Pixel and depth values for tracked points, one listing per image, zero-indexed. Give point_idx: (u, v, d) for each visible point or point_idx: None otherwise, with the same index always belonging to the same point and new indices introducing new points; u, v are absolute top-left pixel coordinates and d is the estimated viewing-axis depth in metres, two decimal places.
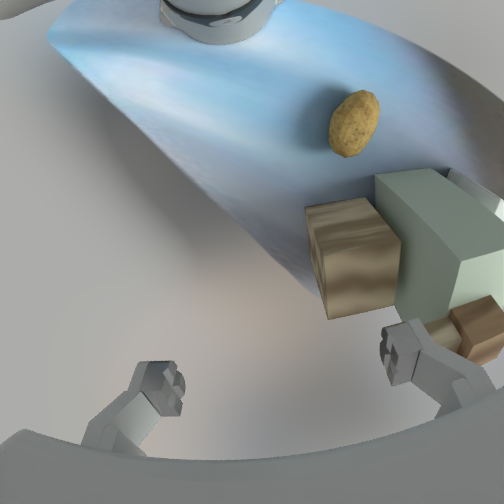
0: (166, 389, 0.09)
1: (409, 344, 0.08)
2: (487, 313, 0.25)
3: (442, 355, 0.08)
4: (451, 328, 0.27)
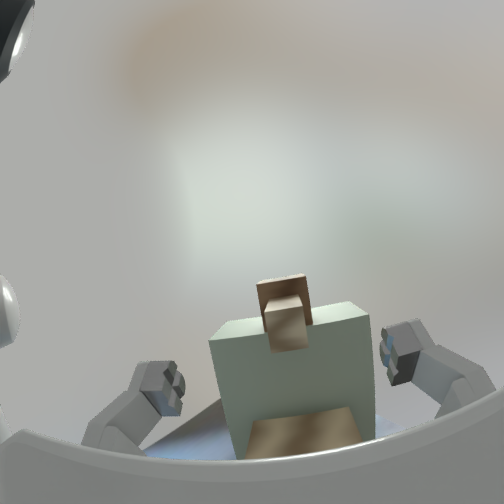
0: (166, 389, 0.09)
1: (409, 344, 0.08)
2: None
3: (441, 355, 0.08)
4: None
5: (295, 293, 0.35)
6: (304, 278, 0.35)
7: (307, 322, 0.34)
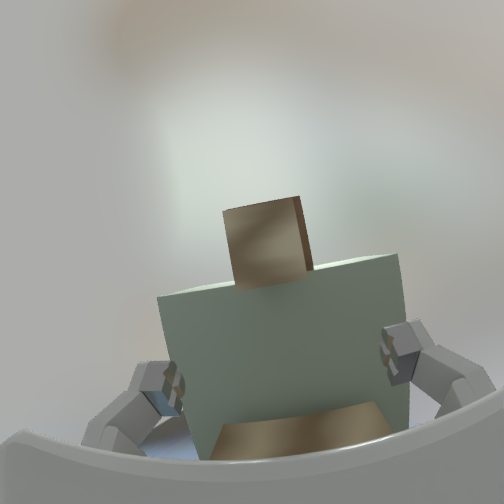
0: (166, 389, 0.09)
1: (409, 344, 0.08)
2: None
3: (442, 354, 0.08)
4: None
5: None
6: (297, 199, 0.23)
7: None
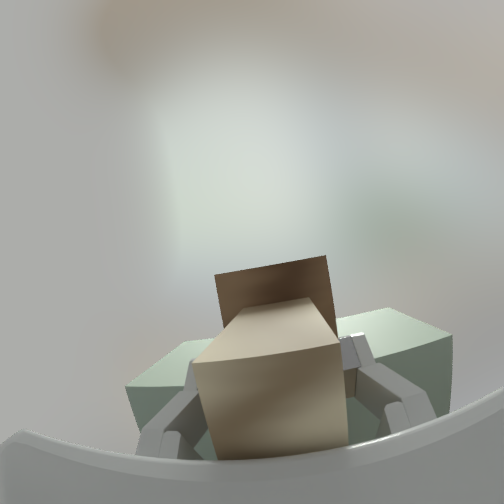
0: None
1: (346, 360, 0.09)
2: None
3: (380, 374, 0.08)
4: None
5: (302, 295, 0.15)
6: (322, 260, 0.15)
7: None
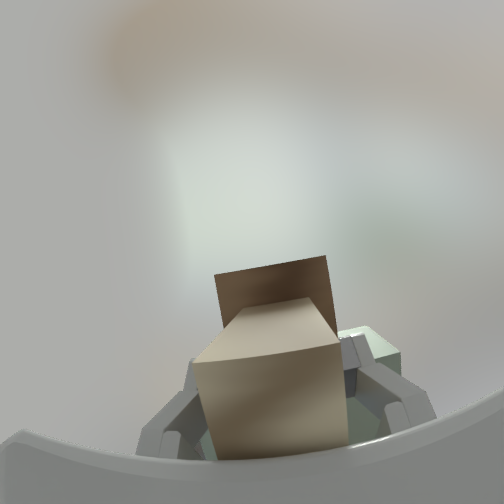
0: None
1: (346, 360, 0.09)
2: None
3: (380, 374, 0.08)
4: None
5: (302, 295, 0.15)
6: (322, 260, 0.15)
7: None
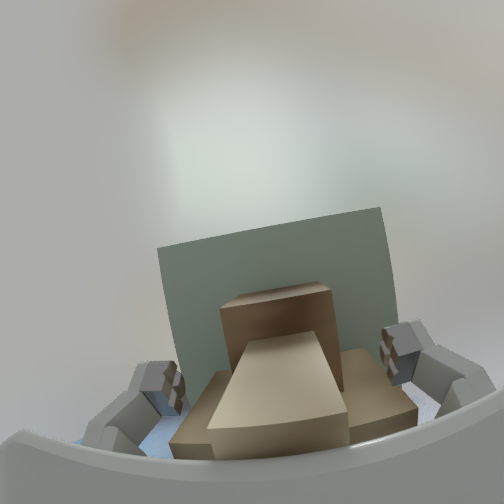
0: (166, 389, 0.09)
1: (409, 344, 0.08)
2: None
3: (442, 354, 0.07)
4: None
5: (307, 328, 0.15)
6: (328, 294, 0.15)
7: None
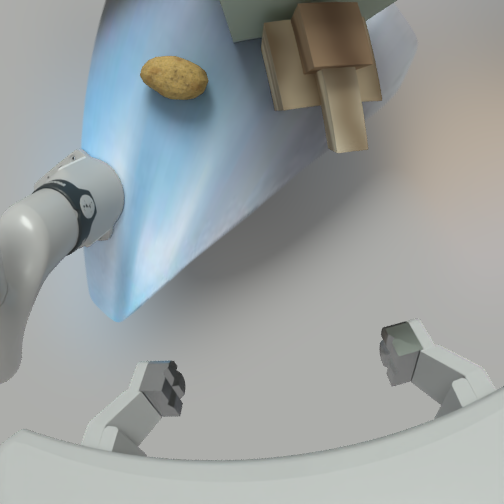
0: (166, 389, 0.09)
1: (409, 344, 0.08)
2: (298, 34, 0.23)
3: (442, 354, 0.08)
4: (319, 76, 0.26)
5: (352, 66, 0.24)
6: (370, 64, 0.22)
7: None
